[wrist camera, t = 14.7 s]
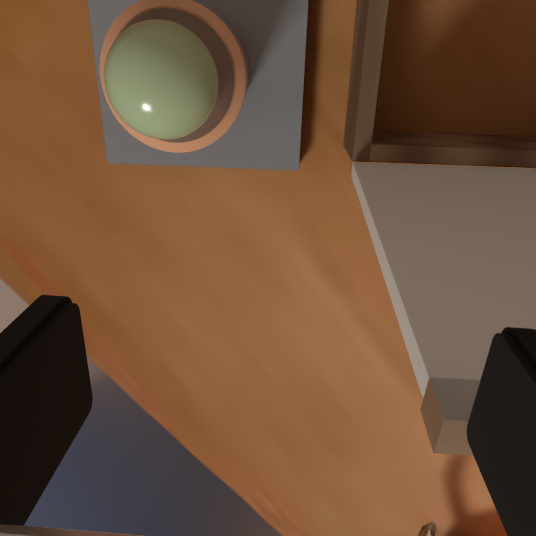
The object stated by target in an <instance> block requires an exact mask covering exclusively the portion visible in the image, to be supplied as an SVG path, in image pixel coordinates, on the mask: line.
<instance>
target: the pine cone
mask: <svg viewBox="0 0 536 536" xmlns="http://www.w3.org/2000/svg"><path fill="white" fill-rule="evenodd" d="M418 536H437V526H436V524H435V522H432V523H429V524H426V525H424V526H422V528H421V530H420V532H419V535H418Z"/></svg>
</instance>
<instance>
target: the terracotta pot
mask: <svg viewBox="0 0 536 536" xmlns="http://www.w3.org/2000/svg"><path fill="white" fill-rule="evenodd" d="M249 76H250V67H249V60H248V56H247V53H246V50H245V48H244V45H243V44H242V42H241V40H240V39H239V37H238V36H237V35H236V33H235V32H234V31H233V30H232V29H231V28H229V27H228V25H227V24H226V23H225V22H224V21H223V20H222V19H221V18H220V17H219V16H218V15H217V14H215V13H214V12H213V11H211V10H210V9H208V8H207V7H205V6H203V5H201V4H199V3H197V2H194V1H192V0H140V1H138V2H136V3H134V4H132V5H131V6H129V7H128V8H127V9H125V10H124V11H123V12H122V13H121V14H120V15H119V16H118V17H117V18H116V19H115V21H114V22H113V24H112V25H111V27H110V28H109V30H108V32H107V34H106V36H105V39H104V42H103V45H102V49H101V55H100V79H101V85H102V89H103V92H104V96H105V98H106V101H107V103H108V105H109V107H110V109H111V111H112V113H113V114H114V116H115V117H116V119H117V120H118V121H119V123H120V124H121V125H122V126H123V127H124V128H125V129H126V130H127V131H128V132H129V133H130V134H131V135H132V136H134V137H135V138H136V139H138V140H139V141H141V142H142V143H144V144H146V145H148V146H150V147H153V148H155V149H158V150H162V151H166V152H174V153H183V152H191V151H196V150H199V149H202V148H204V147H206V146H208V145H210V144H212V143H213V142H215V141H216V140H218V139H219V138H220V137H221V136H222V135H224V134H225V132H226V131H227V130H228V129H229V128H230V127H231V125H232V124H233V122H234V121H235V119H236V118H237V116H238V114H239V112H240V110H241V108H242V105H243V102H244V99H245V94H246V90H247V87H248V83H249Z"/></svg>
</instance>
